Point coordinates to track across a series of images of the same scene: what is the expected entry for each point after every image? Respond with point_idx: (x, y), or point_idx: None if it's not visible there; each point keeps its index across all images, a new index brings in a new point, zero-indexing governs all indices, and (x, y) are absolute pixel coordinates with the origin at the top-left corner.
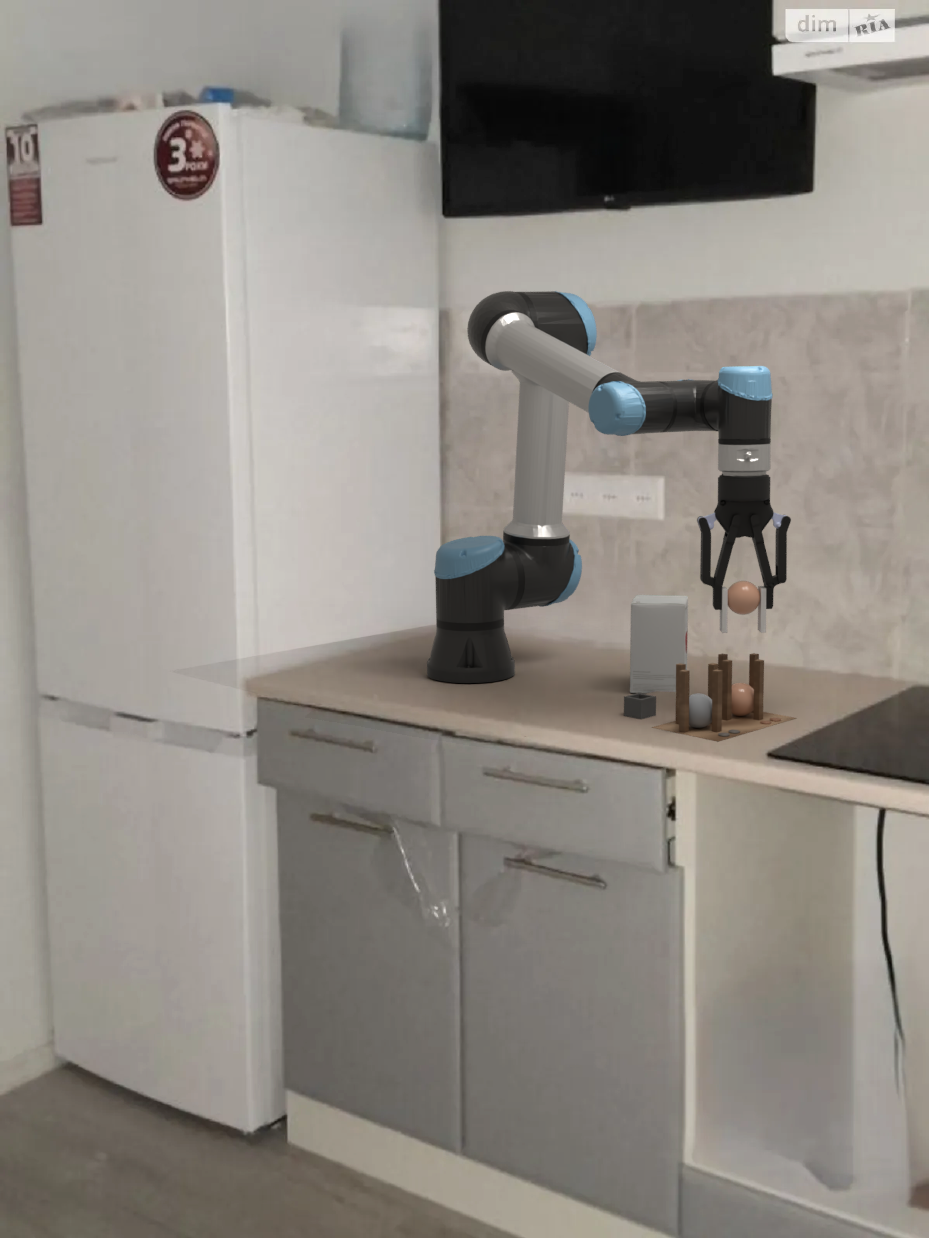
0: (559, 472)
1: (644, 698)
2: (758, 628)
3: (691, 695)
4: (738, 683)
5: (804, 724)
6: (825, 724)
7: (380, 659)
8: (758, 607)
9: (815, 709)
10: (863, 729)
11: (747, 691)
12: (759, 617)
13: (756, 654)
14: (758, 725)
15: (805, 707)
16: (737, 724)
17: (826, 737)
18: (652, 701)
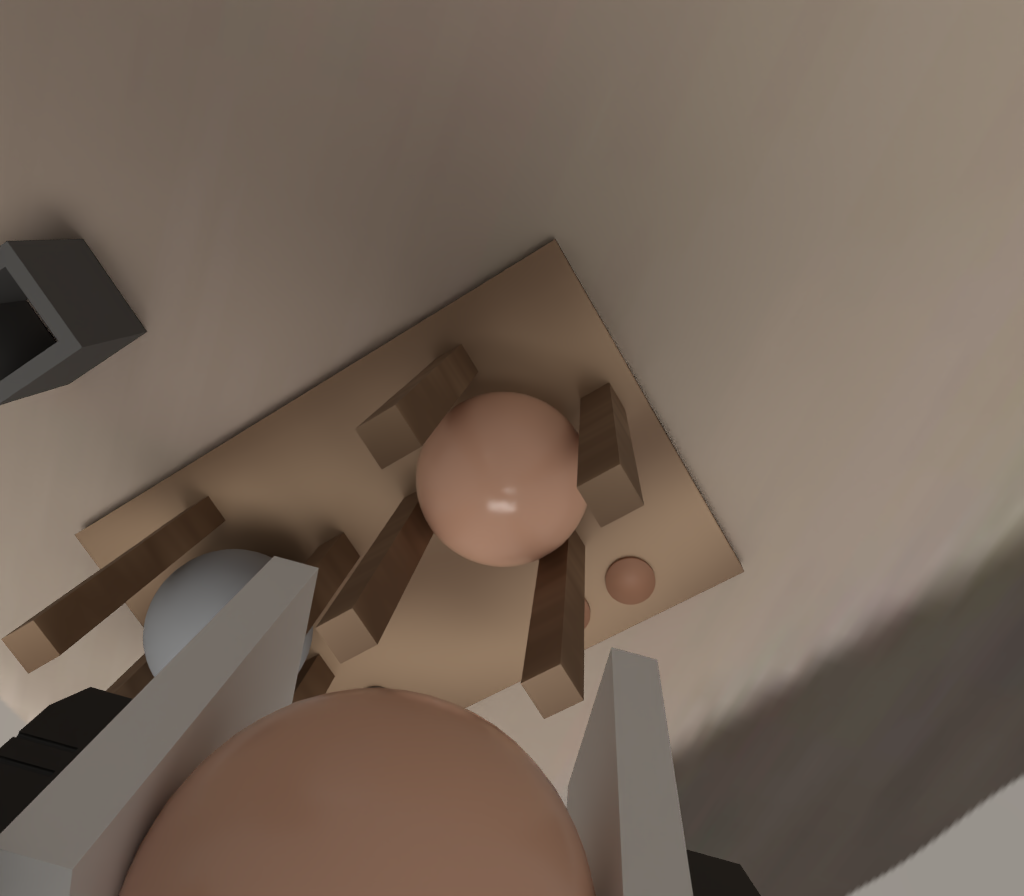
0: None
1: (16, 378)
2: (600, 692)
3: (162, 658)
4: (479, 511)
5: (752, 607)
6: (841, 633)
7: None
8: (607, 815)
9: (968, 358)
10: (947, 751)
11: (509, 562)
12: (585, 810)
13: (618, 516)
14: (517, 639)
15: (945, 302)
16: (438, 598)
17: (727, 810)
18: (74, 357)
